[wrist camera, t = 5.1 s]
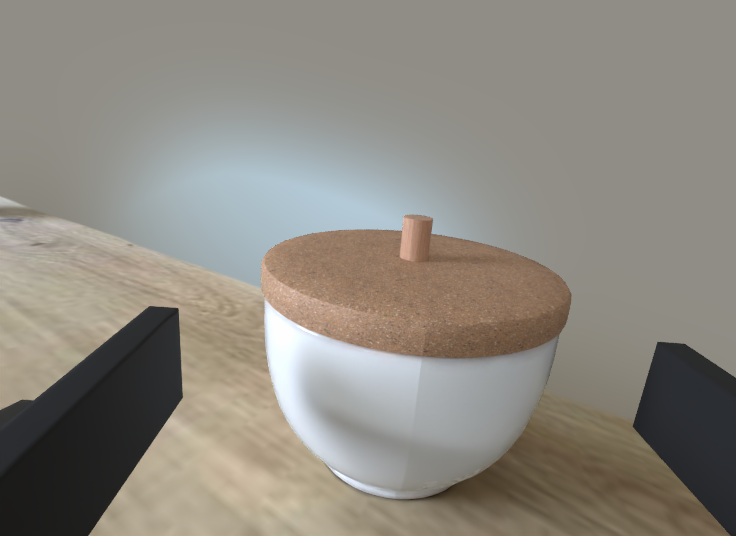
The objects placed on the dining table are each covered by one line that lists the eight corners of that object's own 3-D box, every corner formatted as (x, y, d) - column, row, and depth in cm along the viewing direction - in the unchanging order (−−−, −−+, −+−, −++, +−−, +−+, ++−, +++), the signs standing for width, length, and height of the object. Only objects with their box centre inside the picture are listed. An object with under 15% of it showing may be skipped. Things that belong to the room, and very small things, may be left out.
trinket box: (492, 383, 24) (524, 205, 21) (576, 576, 13) (661, 277, 11) (289, 365, 24) (295, 186, 21) (217, 544, 13) (210, 239, 11)
